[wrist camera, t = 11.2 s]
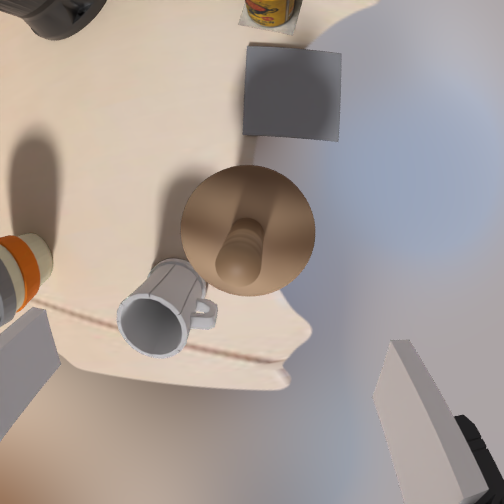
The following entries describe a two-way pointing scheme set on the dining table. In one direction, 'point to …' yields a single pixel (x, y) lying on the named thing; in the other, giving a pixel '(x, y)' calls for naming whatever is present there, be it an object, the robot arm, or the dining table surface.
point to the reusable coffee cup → (21, 272)
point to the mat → (292, 93)
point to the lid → (248, 230)
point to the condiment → (271, 15)
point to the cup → (166, 310)
